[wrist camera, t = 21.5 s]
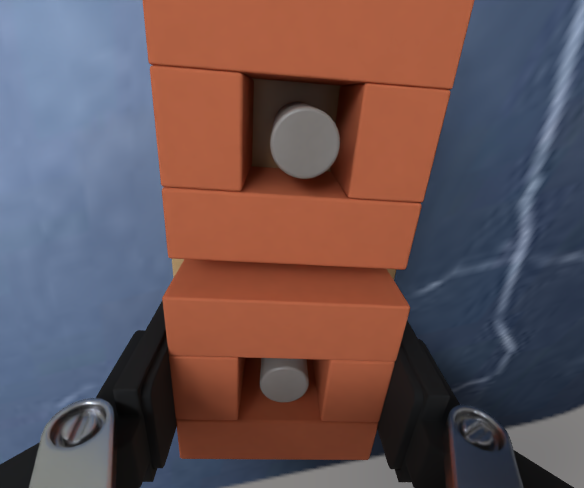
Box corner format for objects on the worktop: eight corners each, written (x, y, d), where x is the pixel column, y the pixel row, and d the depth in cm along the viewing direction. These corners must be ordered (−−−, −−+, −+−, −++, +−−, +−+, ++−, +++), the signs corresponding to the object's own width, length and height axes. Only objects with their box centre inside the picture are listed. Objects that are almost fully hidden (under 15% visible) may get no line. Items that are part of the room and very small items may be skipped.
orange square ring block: (377, 252, 11) (411, 307, 8) (350, 385, 13) (369, 461, 10) (192, 243, 10) (161, 297, 8) (200, 381, 13) (179, 459, 10)
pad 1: (416, 15, 9) (481, -22, 6) (375, 227, 11) (406, 271, 8) (183, -8, 8) (135, -59, 5) (195, 217, 11) (166, 260, 8)
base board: (437, 1, 10) (578, -80, 5) (361, 358, 16) (395, 468, 11) (163, -27, 9) (49, -144, 5) (191, 353, 15) (152, 466, 10)
